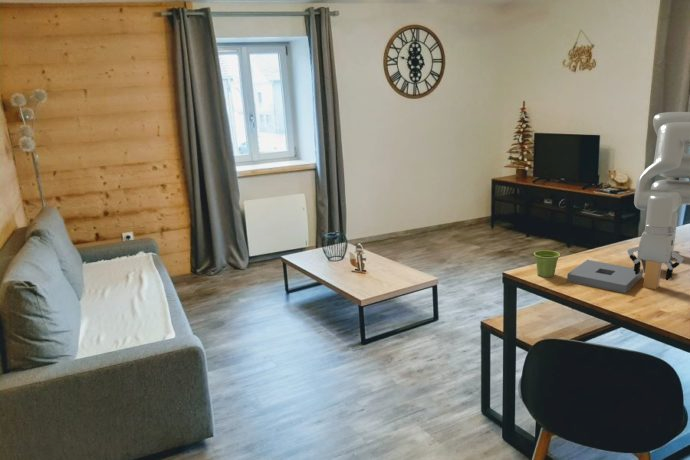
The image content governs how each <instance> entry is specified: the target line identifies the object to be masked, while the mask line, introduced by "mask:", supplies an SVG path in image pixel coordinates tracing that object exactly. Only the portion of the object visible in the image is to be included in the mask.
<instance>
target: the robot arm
mask: <svg viewBox="0 0 690 460" xmlns="http://www.w3.org/2000/svg"><path fill="white" fill-rule="evenodd" d="M652 125H653V130H654V132H655V134H656V136H657V137H656V143H655V152H654V158H653V162H652V163H651V164H650V165H649V166H648V167H646V168H645V169H644V170H643V171H642V172H641V173H640V175H639V176H638V178H637V181H636V184H635V192H634V195H633V196H634V199H633V200H634V201H633V204H634V206H635V208H636V209H637V210H642V211H646V217H645V227H644V230H643V231H642V234H641V236H640V240H639V244H638V246H636V247H632V248H629V249H627V254H628V256H629V258H630V259H631V261H632V262H633V265H634V266H633V268H634V271H635V274H636V275H637V274H639V273H640V269H641V265H642V262H641V260H647V261H653V262H659V263H662V264H664V265H666V267H667V269H666V271H665V272H666V273H665V280H666V281H669V280H670V279H671V278H673V272H674V269H676V268H677V267H679V266H680V264H681V263H682V262H683V260H684V257H683V256H682V255H680V254H679V253H678V252H676V250H674V249H675V242H676V233H677V223H678V212H677V210H678V209H679V208H680V207H681V205H686V206H690V153H685V147H690V111H666V112H659V113H657V114H655V115H654V116H653V119H652ZM657 175H658V176H660V177H665V178H672V179H660V180H655V181H654V182H653V183H652V184H651V186H650V188H645V187H646V184H647V182H648V181H649V180H651V179H652V178H653V177H655V176H657ZM673 178H674V179H673ZM676 178H678V179H681V180H678V179H676ZM682 179H688V180H682ZM634 252H635V253H636V252H637V256H636V255H635V254H634ZM673 259H676V262H674V263H673V261H672V260H673Z"/></svg>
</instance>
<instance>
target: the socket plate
mask: <svg viewBox="0 0 690 460" xmlns="http://www.w3.org/2000/svg"><path fill="white" fill-rule="evenodd" d="M643 274H644V270H643V268H642V269H641V268H640V273H639V274H637V275H636V274H635V271H634V267H631V266H624V265H620V264H619V265H618V264H612V263H608V262H601V261H595V260H590V259H586V260H585V261H583V262H582V263H580V264H579V265H578V266H576V267H575V268H574V269H572V270H571V271H569V272H568V273H567V279H566V282H568V283H573V284H578V285H582V286H588V287H592V288H597V289H600V290H601V289H603V290H608V291H610V292H611V291H612V292H617V293H621V294H627V292H629V291H630V290H631V288H632V287H633V286H635V285H636V284H637V283H638V282H639V281H640V280H641V279H642V278H643Z"/></svg>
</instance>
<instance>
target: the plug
mask: <svg viewBox="0 0 690 460" xmlns="http://www.w3.org/2000/svg"><path fill="white" fill-rule="evenodd" d="M662 265H663V263H659V262H653V261H647V260H646V266H645V273H644V277H643V285H642V287H643V288H646V289H651V290H657V289H658V288H659V287H660V281H661V274H662V273H661V272H662Z"/></svg>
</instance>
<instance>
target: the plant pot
mask: <svg viewBox="0 0 690 460" xmlns="http://www.w3.org/2000/svg"><path fill="white" fill-rule="evenodd" d="M533 255H534V259H535V262H536V272H537V276H540V277H541V278H551V277H555V273H556V268H557V263H558V261H559V258H560V256H561V253H559V252H558V251H554V250H548V249H546V250H545V249H543V250H542V249H541V250H536V251H534V252H533Z"/></svg>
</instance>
